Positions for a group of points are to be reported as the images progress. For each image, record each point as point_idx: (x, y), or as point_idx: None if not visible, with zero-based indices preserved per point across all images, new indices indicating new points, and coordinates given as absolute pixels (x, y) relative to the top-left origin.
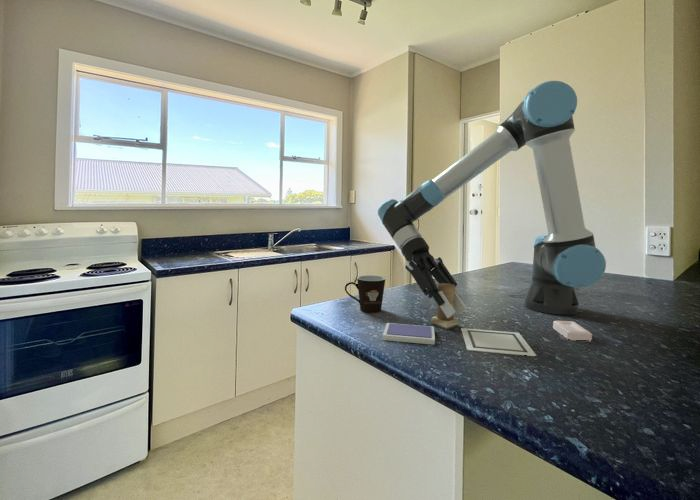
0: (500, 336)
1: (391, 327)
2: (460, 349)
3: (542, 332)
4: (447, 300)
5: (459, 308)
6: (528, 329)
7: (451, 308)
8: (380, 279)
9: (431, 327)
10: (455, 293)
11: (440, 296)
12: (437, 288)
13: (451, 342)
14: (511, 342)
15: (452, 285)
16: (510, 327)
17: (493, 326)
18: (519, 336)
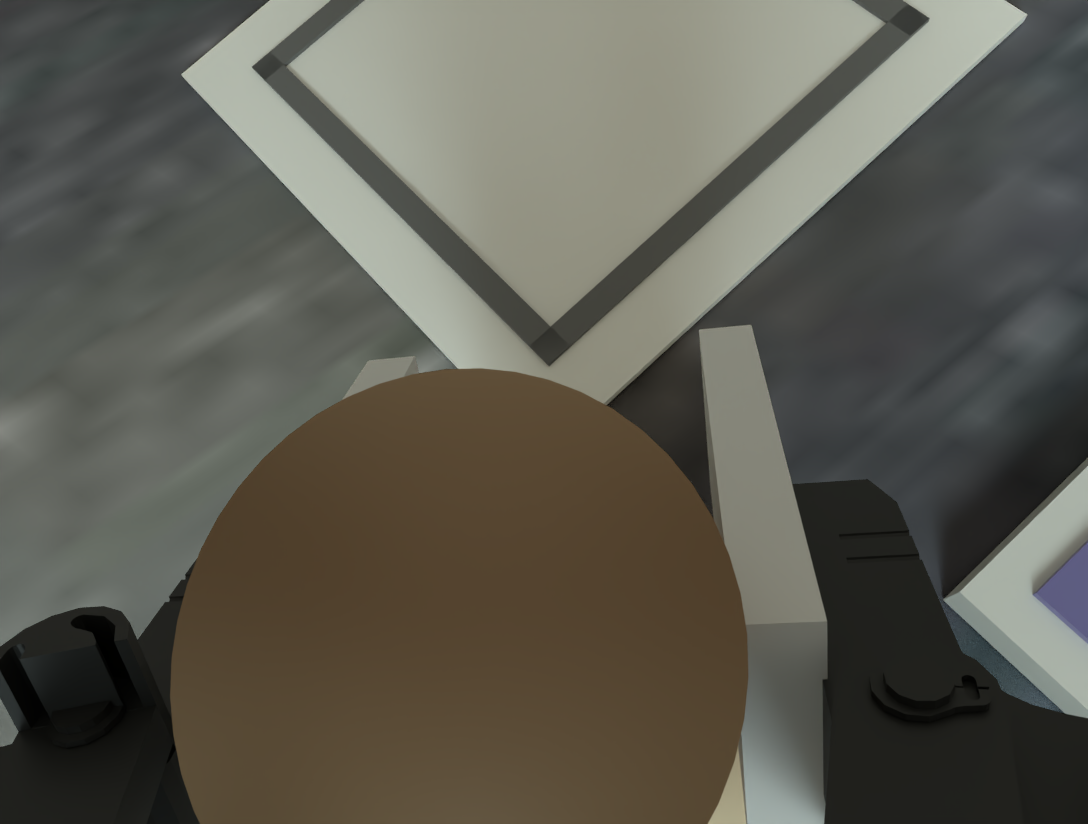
0: (421, 87)
1: None
2: (1074, 65)
3: (3, 13)
4: (730, 450)
5: None
6: (7, 107)
7: (754, 360)
8: None
9: (1022, 586)
10: None
11: (822, 592)
12: (848, 725)
13: (1016, 229)
14: None
15: (332, 494)
16: (69, 217)
17: (167, 322)
18: (276, 17)
